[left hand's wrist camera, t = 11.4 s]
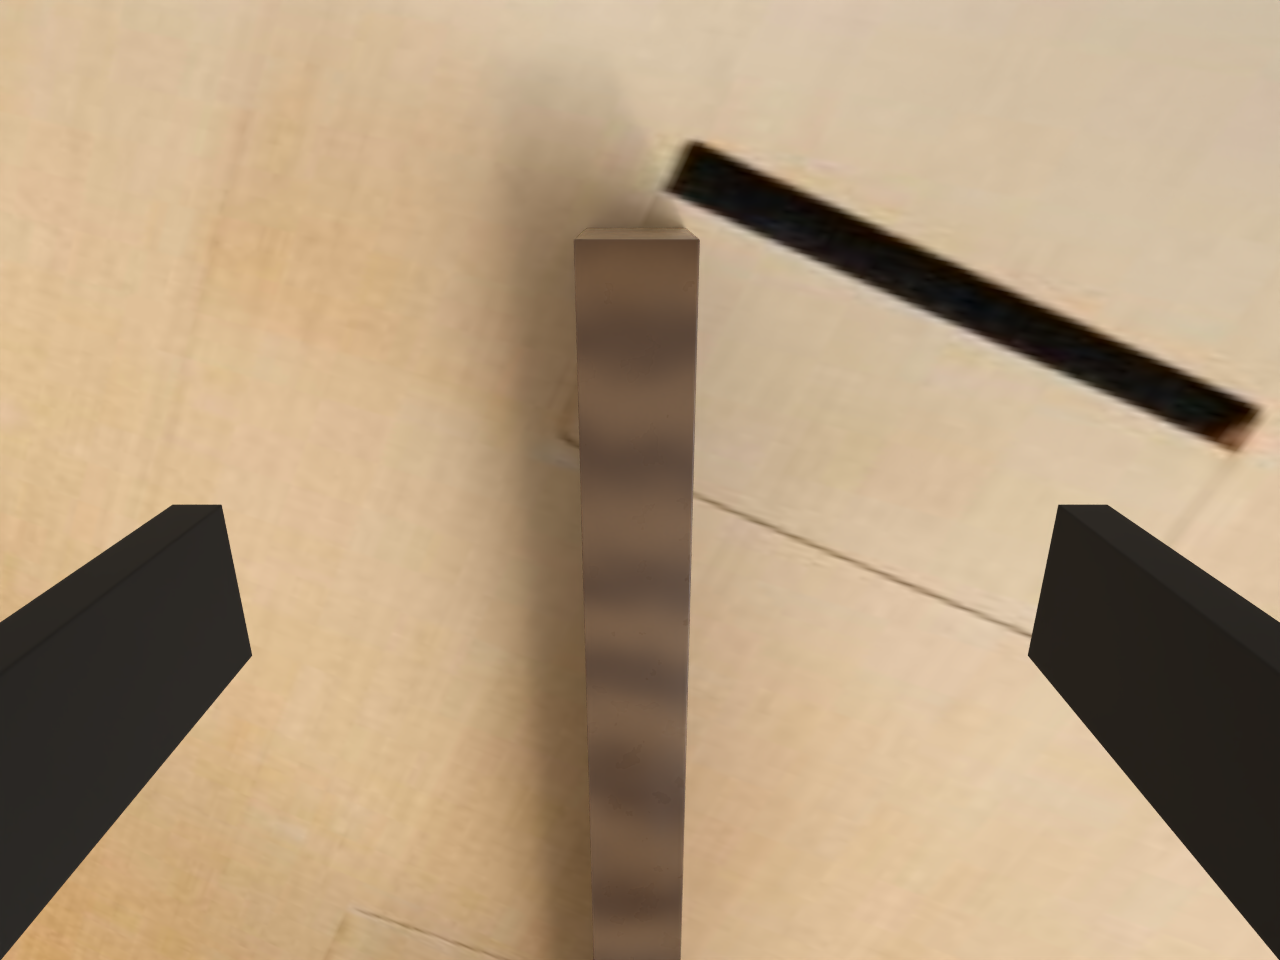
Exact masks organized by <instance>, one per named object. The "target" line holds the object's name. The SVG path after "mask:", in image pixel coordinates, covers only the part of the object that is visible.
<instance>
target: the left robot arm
mask: <svg viewBox="0 0 1280 960" xmlns="http://www.w3.org/2000/svg"><path fill="white" fill-rule="evenodd" d="M251 656H252V652H251V647H250V643H249V638H248V633H247V628H246V623H245V618H244V613H243V608H242V603H241V598H240V593H239V588H238V583H237V579H236V574H235V569H234V564H233V559H232V554H231V549H230V544H229V539H228V534H227V529H226V524H225V519H224V514H223V510H222V505H172V506H170V507H169V508H167V509H166V510H164V511H163V512H161V513H160V514H158V515H157V516H155V517H154V518H153V519H151V520H150V521H148V522H147V523H145V524H144V525H142V526H141V527H139V528H138V529H136V530H135V531H134V532H132V533H131V534H129V535H128V536H126V537H125V538H123V539H122V540H120V541H119V542H117V543H116V544H115V545H113V546H112V547H110V548H109V549H107V550H106V551H104V552H103V553H101V554H100V555H98V556H97V557H95V558H94V559H93V560H91V561H90V562H88V563H87V564H85V565H84V566H82V567H81V568H79V569H78V570H76V571H75V572H74V573H72V574H71V575H69V576H68V577H66V578H65V579H63V580H62V581H60V582H59V583H57V584H56V585H54V586H53V587H52V588H50V589H49V590H47V591H46V592H44V593H43V594H41V595H40V596H38V597H37V598H35V599H34V600H33V601H31V602H30V603H28V604H27V605H25V606H24V607H22V608H21V609H19V610H18V611H16V612H15V613H14V614H12V615H11V616H9V617H8V618H6V619H5V620H3V621H2V622H0V960H1V959H2V958H3V957H4V956H5V954H6V953H7V952H8V951H9V949H10V948H11V947H12V946H13V945H14V943H15V942H16V941H17V940H18V939H19V937H20V936H21V935H22V934H23V932H24V931H25V930H26V929H27V928H28V926H29V925H30V924H31V923H32V922H33V920H34V919H35V918H36V917H37V916H38V914H39V913H40V912H41V911H42V909H43V908H44V907H45V906H46V905H47V903H48V902H49V901H50V900H51V899H52V897H53V896H54V895H55V894H56V893H57V891H58V890H59V889H60V888H61V886H62V885H63V884H64V883H65V882H66V880H67V879H68V878H69V877H70V876H71V874H72V873H73V872H74V871H75V869H76V868H77V867H78V866H79V865H80V863H81V862H82V861H83V860H84V859H85V857H86V856H87V855H88V854H89V853H90V851H91V850H92V849H93V848H94V846H95V845H96V844H97V843H98V842H99V840H100V839H101V838H102V837H103V836H104V834H105V833H106V832H107V831H108V830H109V828H110V827H111V826H112V825H113V823H114V822H115V821H116V820H117V819H118V817H119V816H120V815H121V814H122V813H123V811H124V810H125V809H126V808H127V806H128V805H129V804H130V803H131V802H132V800H133V799H134V798H135V797H136V796H137V794H138V793H139V792H140V791H141V790H142V788H143V787H144V786H145V785H146V783H147V782H148V781H149V780H150V779H151V777H152V776H153V775H154V774H155V773H156V771H157V770H158V769H159V768H160V766H161V765H162V764H163V763H164V762H165V760H166V759H167V758H168V757H169V756H170V754H171V753H172V752H173V751H174V750H175V748H176V747H177V746H178V745H179V743H180V742H181V741H182V740H183V739H184V737H185V736H186V735H187V734H188V733H189V731H190V730H191V729H192V728H193V727H194V725H195V724H196V723H197V722H198V720H199V719H200V718H201V717H202V716H203V714H204V713H205V712H206V711H207V710H208V708H209V707H210V706H211V705H212V703H213V702H214V701H215V700H216V699H217V697H218V696H219V695H220V694H221V693H222V691H223V690H224V689H225V688H226V687H227V685H228V684H229V683H230V682H231V680H232V679H233V678H234V677H235V676H236V674H237V673H238V672H239V671H240V670H241V668H242V667H243V666H244V665H245V664H246V662H247V661H248V660H249V659H250V657H251ZM1028 656H1029V657H1030V659H1031V660H1032V661H1033V662H1034V663H1035V665H1036V666H1037V667H1038V668H1039V670H1040V671H1041V672H1042V673H1043V674H1044V676H1045V677H1046V678H1047V679H1048V680H1049V682H1050V683H1051V684H1052V685H1053V687H1054V688H1055V689H1056V690H1057V691H1058V693H1059V694H1060V695H1061V696H1062V697H1063V699H1064V700H1065V701H1066V702H1067V703H1068V705H1069V706H1070V707H1071V708H1072V710H1073V711H1074V712H1075V713H1076V714H1077V716H1078V717H1079V718H1080V719H1081V720H1082V722H1083V723H1084V724H1085V725H1086V727H1087V728H1088V729H1089V730H1090V731H1091V733H1092V734H1093V735H1094V736H1095V737H1096V739H1097V740H1098V741H1099V742H1100V743H1101V745H1102V746H1103V747H1104V748H1105V750H1106V751H1107V752H1108V753H1109V754H1110V756H1111V757H1112V758H1113V759H1114V760H1115V762H1116V763H1117V764H1118V765H1119V766H1120V768H1121V769H1122V770H1123V771H1124V773H1125V774H1126V775H1127V776H1128V777H1129V779H1130V780H1131V781H1132V782H1133V783H1134V785H1135V786H1136V787H1137V788H1138V790H1139V791H1140V792H1141V793H1142V794H1143V796H1144V797H1145V798H1146V799H1147V800H1148V802H1149V803H1150V804H1151V805H1152V806H1153V808H1154V809H1155V810H1156V811H1157V813H1158V814H1159V815H1160V816H1161V817H1162V819H1163V820H1164V821H1165V822H1166V823H1167V825H1168V826H1169V827H1170V828H1171V830H1172V831H1173V832H1174V833H1175V834H1176V836H1177V837H1178V838H1179V839H1180V840H1181V842H1182V843H1183V844H1184V845H1185V846H1186V848H1187V849H1188V850H1189V851H1190V853H1191V854H1192V855H1193V856H1194V857H1195V859H1196V860H1197V861H1198V862H1199V863H1200V865H1201V866H1202V867H1203V868H1204V869H1205V871H1206V872H1207V873H1208V874H1209V876H1210V877H1211V878H1212V879H1213V880H1214V882H1215V883H1216V884H1217V885H1218V886H1219V888H1220V889H1221V890H1222V891H1223V893H1224V894H1225V895H1226V896H1227V897H1228V899H1229V900H1230V901H1231V902H1232V903H1233V905H1234V906H1235V907H1236V908H1237V909H1238V911H1239V912H1240V913H1241V914H1242V916H1243V917H1244V918H1245V919H1246V920H1247V922H1248V923H1249V924H1250V925H1251V926H1252V928H1253V929H1254V930H1255V931H1256V932H1257V934H1258V935H1259V936H1260V937H1261V939H1262V940H1263V941H1264V942H1265V943H1266V945H1267V946H1268V947H1269V948H1270V949H1271V951H1272V952H1273V953H1274V954H1275V956H1276V957H1277V958H1278V959H1279V960H1280V622H1278V621H1277V620H1275V619H1274V618H1272V617H1271V616H1269V615H1268V614H1266V613H1265V612H1264V611H1262V610H1261V609H1259V608H1258V607H1256V606H1255V605H1253V604H1252V603H1250V602H1249V601H1247V600H1246V599H1245V598H1243V597H1242V596H1240V595H1239V594H1237V593H1236V592H1234V591H1233V590H1231V589H1230V588H1228V587H1227V586H1226V585H1224V584H1223V583H1221V582H1220V581H1218V580H1217V579H1215V578H1214V577H1212V576H1211V575H1209V574H1208V573H1206V572H1205V571H1204V570H1202V569H1201V568H1199V567H1198V566H1196V565H1195V564H1193V563H1192V562H1190V561H1189V560H1187V559H1186V558H1185V557H1183V556H1182V555H1180V554H1179V553H1177V552H1176V551H1174V550H1173V549H1171V548H1170V547H1168V546H1167V545H1165V544H1164V543H1163V542H1161V541H1160V540H1158V539H1157V538H1155V537H1154V536H1152V535H1151V534H1149V533H1148V532H1146V531H1145V530H1144V529H1142V528H1141V527H1139V526H1138V525H1136V524H1135V523H1133V522H1132V521H1130V520H1129V519H1127V518H1126V517H1125V516H1123V515H1122V514H1120V513H1119V512H1117V511H1116V510H1114V509H1113V508H1111V507H1110V506H1108V505H1058V510H1057V514H1056V519H1055V524H1054V529H1053V534H1052V539H1051V544H1050V549H1049V554H1048V559H1047V564H1046V569H1045V574H1044V579H1043V583H1042V588H1041V593H1040V598H1039V603H1038V608H1037V613H1036V618H1035V623H1034V628H1033V633H1032V638H1031V643H1030V648H1029V652H1028Z"/></svg>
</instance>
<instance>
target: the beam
mask: <svg viewBox="0 0 1280 960" xmlns="http://www.w3.org/2000/svg"><path fill="white" fill-rule="evenodd" d="M699 245H700V240H699V239H698V238H697V237H696V236H694V235H693V234H692V233H691V232H690V231H689V230H687V229H686V228H586V229H585V230H584V231H583V232H582V233H581V234H580V235H579V236H578V237H576V238H575V239H574V263H575V299H576V335H577V371H578V407H579V443H580V479H581V515H582V551H583V587H584V623H585V659H586V695H587V731H588V767H589V803H590V839H591V875H592V911H593V947H594V960H681V927H682V889H683V851H684V813H685V775H686V737H687V699H688V662H689V624H690V586H691V548H692V510H693V472H694V434H695V396H696V358H697V321H698V283H699Z"/></svg>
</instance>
